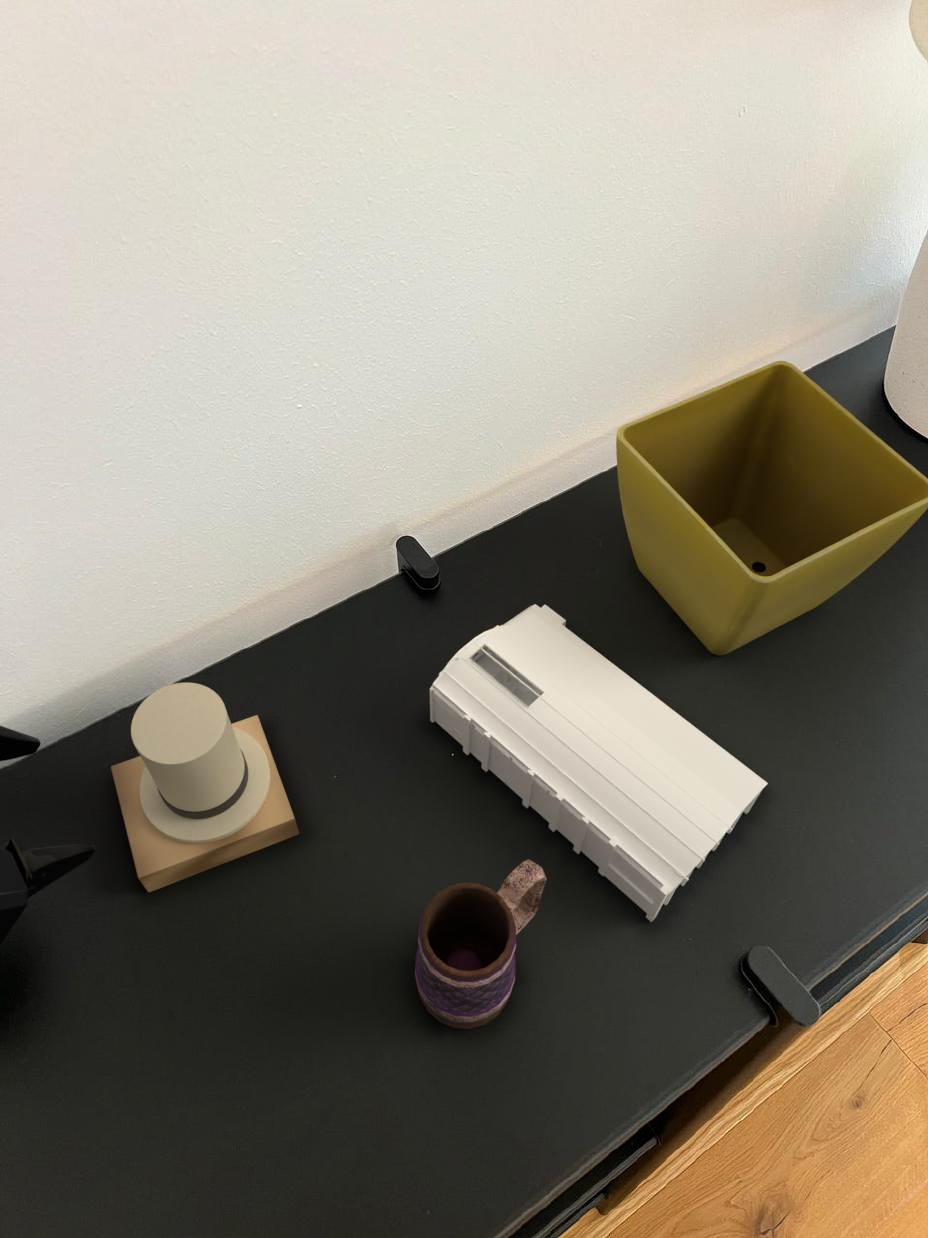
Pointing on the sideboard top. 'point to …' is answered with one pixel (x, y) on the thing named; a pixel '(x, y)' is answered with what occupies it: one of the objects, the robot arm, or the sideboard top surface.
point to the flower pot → (759, 502)
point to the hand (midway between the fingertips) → (63, 797)
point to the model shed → (593, 753)
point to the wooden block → (179, 860)
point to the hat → (197, 765)
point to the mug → (474, 946)
